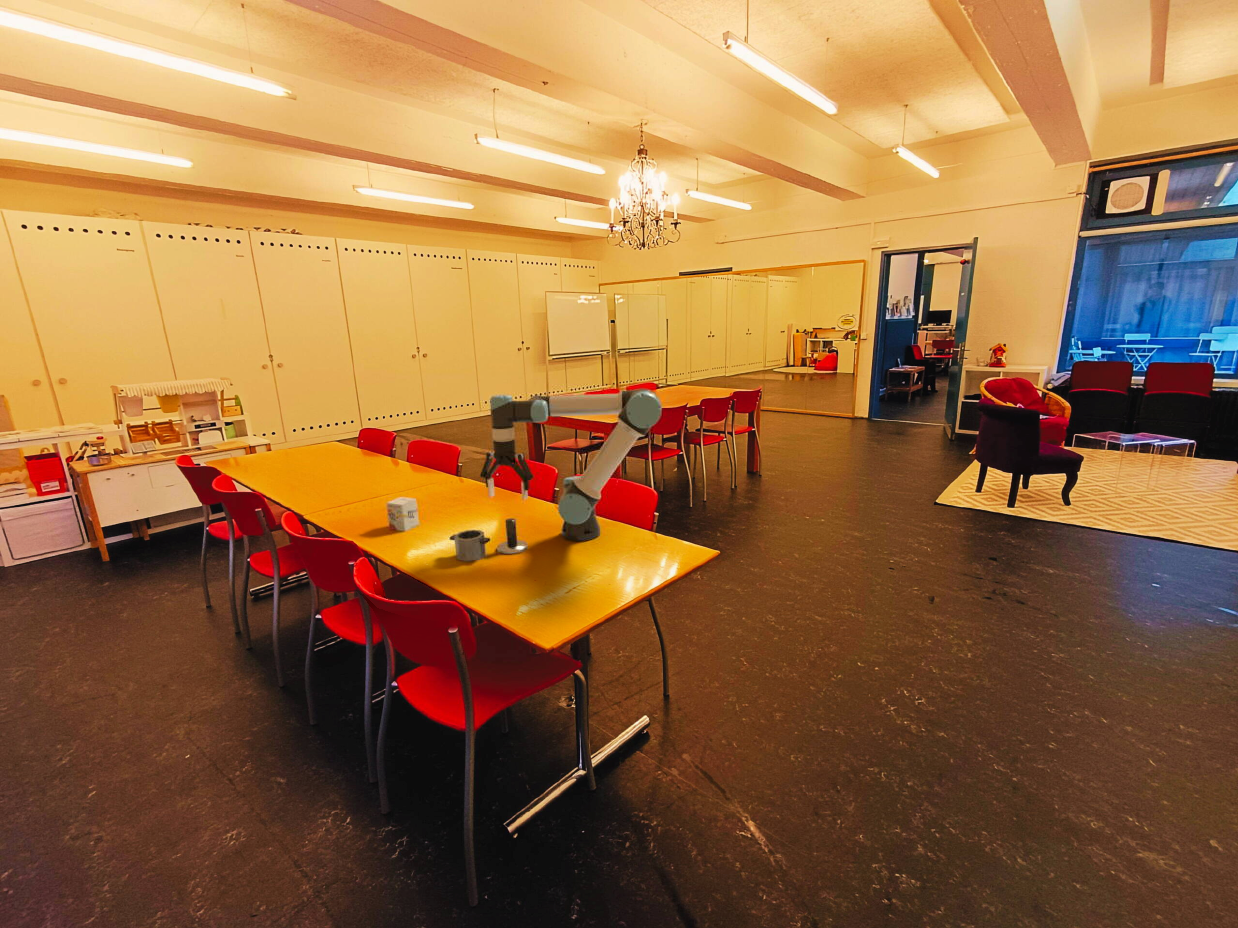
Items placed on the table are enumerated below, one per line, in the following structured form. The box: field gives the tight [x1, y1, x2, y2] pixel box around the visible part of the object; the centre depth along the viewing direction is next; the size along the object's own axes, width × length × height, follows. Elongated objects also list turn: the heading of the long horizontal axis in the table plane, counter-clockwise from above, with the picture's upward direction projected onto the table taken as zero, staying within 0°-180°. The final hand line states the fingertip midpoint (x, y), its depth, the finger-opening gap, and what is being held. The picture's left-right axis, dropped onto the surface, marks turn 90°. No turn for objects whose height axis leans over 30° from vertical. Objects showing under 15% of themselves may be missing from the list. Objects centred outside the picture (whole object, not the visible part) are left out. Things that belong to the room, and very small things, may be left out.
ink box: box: [385, 496, 420, 532], centre depth 222 cm, size 9×9×12 cm
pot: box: [449, 529, 491, 563], centre depth 191 cm, size 15×10×8 cm
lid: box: [496, 517, 529, 556], centre depth 197 cm, size 11×11×11 cm
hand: (508, 497), depth 193 cm, fingers open, 13 cm apart
